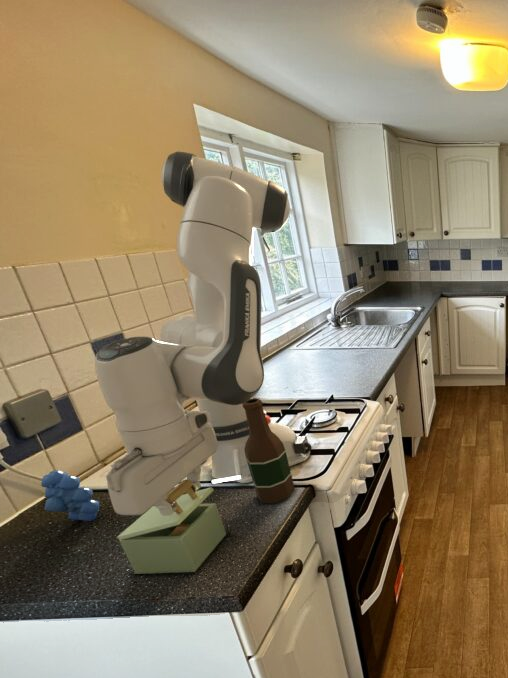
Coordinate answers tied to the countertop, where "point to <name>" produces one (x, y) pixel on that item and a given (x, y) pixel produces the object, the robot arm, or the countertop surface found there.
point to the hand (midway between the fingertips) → (182, 500)
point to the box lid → (184, 507)
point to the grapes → (69, 496)
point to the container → (177, 544)
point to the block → (179, 530)
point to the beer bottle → (266, 457)
